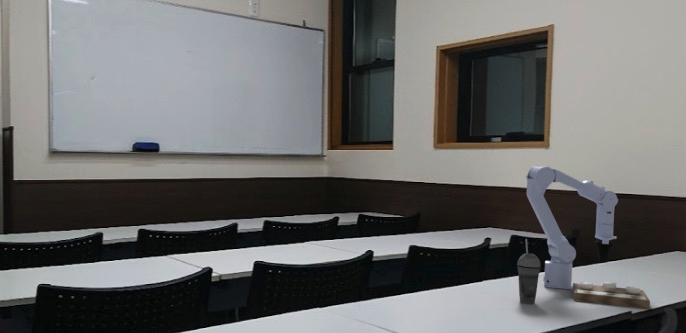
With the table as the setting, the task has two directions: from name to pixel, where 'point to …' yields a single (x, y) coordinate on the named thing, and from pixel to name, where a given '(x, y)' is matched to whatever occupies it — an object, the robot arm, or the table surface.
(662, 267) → the table surface
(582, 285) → the button left
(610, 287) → the button middle
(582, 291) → the button board
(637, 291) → the button right
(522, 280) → the beverage cup
